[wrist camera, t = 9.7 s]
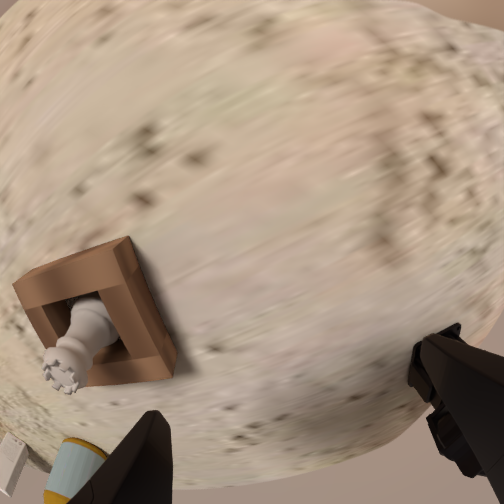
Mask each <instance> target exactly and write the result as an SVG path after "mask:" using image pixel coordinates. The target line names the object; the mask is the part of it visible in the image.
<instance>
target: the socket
mask: <svg viewBox="0 0 504 504" xmlns="http://www.w3.org/2000/svg"><path fill="white" fill-rule="evenodd" d="M12 285H13V287H14V289H15V292H16V294H17V296H18V298H19V300H20V302H21V304H22V306H23V308H24V310H25V312H26V314H27V316H28V318H29V320H30V322H31V324H32V326H33V328H34V329H35V331H36V333H37V335H38V336H39V338H40V340H41V342H42V343H43V345H44V347H45V348H46V349H48V348H50V347H56V343H57V340H58V339H59V338H61V337H64V336H65V334H66V333H67V331H68V329H69V327H70V325H71V311H70V309H69V307H68V305H67V303H66V301H65V299H68V298H71V297H75V296H79V295H82V294H86V293H90V292H94V291H98V293H99V295H100V297H101V299H102V302H103V304H104V306H105V308H106V310H107V312H108V314H109V316H110V318H111V320H112V322H113V324H114V326H115V328H116V330H117V332H118V334H119V335H120V337H121V339H122V340H118V341H116V342H115V343H113V344H111V345H109V346H106V347H104V348H101V349H100V350H99V351H98V352H97V354H96V355H95V356H94V357H93V365H92V367H91V369H89V370H87V371H86V372H87V375H88V383H87V385H86V386H85V387H91V386H106V385H118V384H128V383H137V382H146V381H154V380H161V379H168V378H173V373H174V368H175V363H176V358H177V354H178V352H177V350H176V348H175V346H174V344H173V342H172V340H171V338H170V336H169V334H168V332H167V330H166V327H165V325H164V323H163V321H162V319H161V316H160V314H159V312H158V310H157V307H156V305H155V303H154V300H153V298H152V296H151V293H150V291H149V288H148V286H147V284H146V281H145V279H144V276H143V273H142V271H141V268H140V266H139V263H138V261H137V258H136V255H135V252H134V250H133V247H132V244H131V241H130V239H129V236H125V237H122V238H119V239H116V240H113V241H110V242H107V243H104V244H101V245H98V246H95V247H92V248H89V249H87V250H84V251H81V252H78V253H75V254H72V255H70V256H67V257H64V258H61V259H59V260H56V261H53V262H50V263H48V264H45V265H43V266H40V267H37V268H35V269H32V270H31V271H29V272H28V273H27V274H25V275H24V276H22V277H21V278H20V279H18V280H17V281H16V282H14V283H13V284H12Z"/></svg>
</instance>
